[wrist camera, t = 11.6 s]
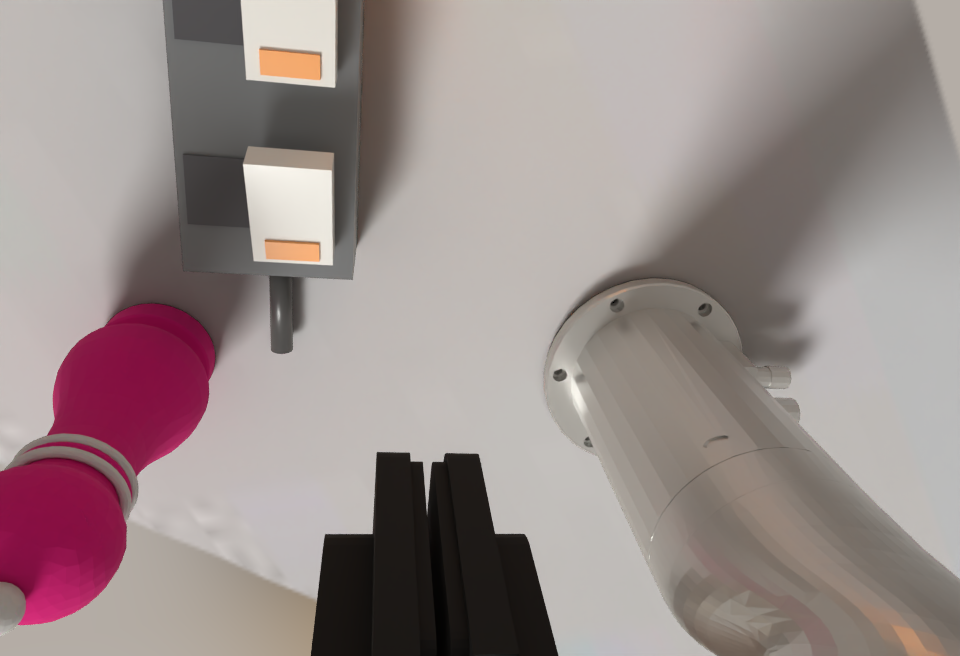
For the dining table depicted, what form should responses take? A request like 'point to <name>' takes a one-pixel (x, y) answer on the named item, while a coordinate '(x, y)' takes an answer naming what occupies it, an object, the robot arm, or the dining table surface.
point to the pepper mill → (97, 458)
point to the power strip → (255, 143)
